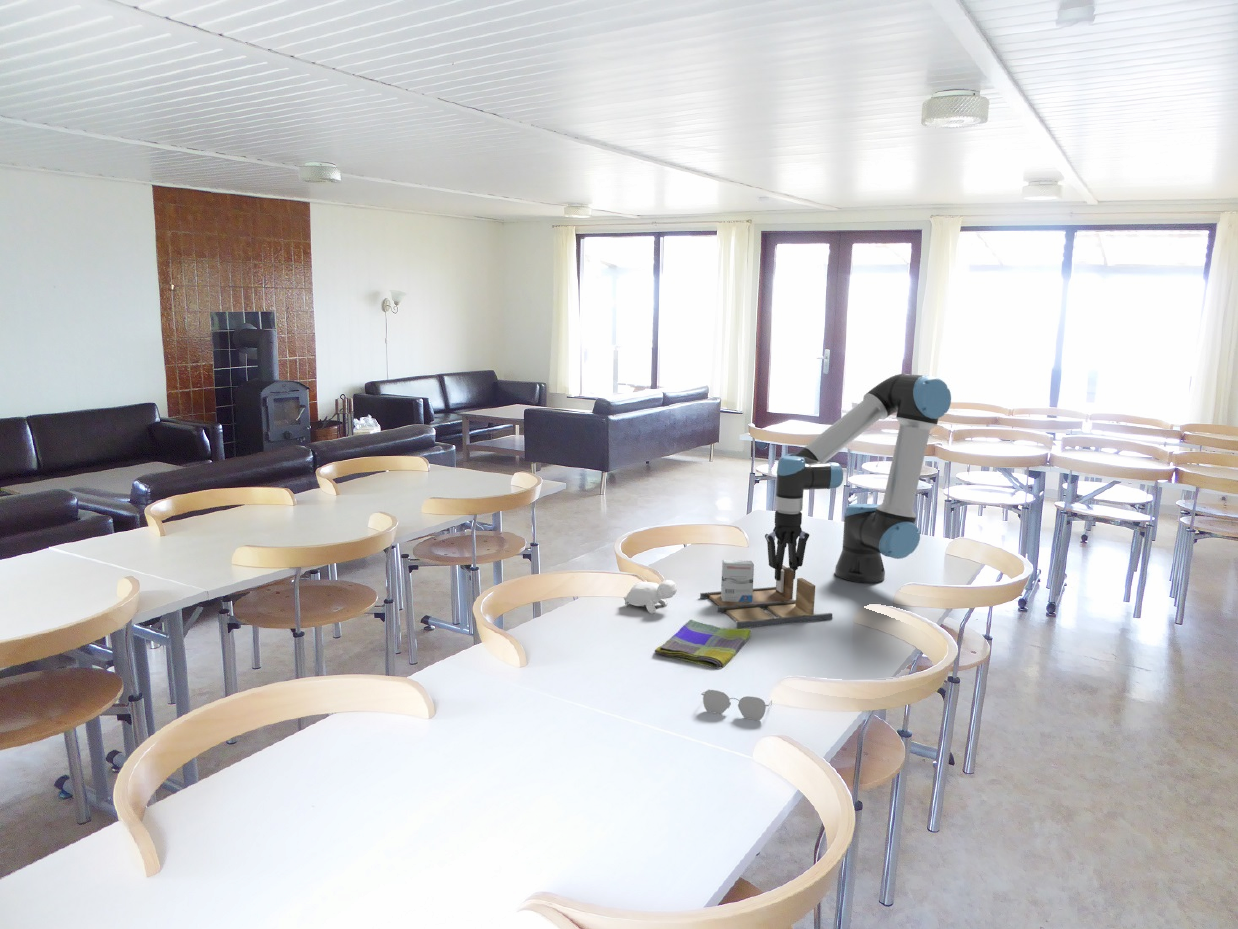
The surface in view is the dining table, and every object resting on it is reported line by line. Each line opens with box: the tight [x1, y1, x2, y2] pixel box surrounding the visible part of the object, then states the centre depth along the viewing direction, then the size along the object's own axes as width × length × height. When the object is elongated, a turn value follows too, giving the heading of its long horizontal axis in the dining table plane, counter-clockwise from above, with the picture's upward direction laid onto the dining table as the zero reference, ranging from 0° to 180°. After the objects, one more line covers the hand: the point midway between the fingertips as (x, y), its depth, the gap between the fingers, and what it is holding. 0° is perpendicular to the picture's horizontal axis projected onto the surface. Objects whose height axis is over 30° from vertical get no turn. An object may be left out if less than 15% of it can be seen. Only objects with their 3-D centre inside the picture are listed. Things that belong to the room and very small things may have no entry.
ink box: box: [720, 559, 755, 602], centre depth 239 cm, size 8×5×12 cm, turn 88°
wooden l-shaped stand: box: [725, 577, 816, 623], centre depth 229 cm, size 22×10×9 cm, turn 108°
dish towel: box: [654, 618, 752, 669], centre depth 207 cm, size 18×24×3 cm
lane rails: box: [699, 586, 833, 629], centre depth 235 cm, size 28×25×2 cm
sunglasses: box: [700, 689, 773, 721], centre depth 175 cm, size 14×8×5 cm, turn 71°
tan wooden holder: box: [708, 565, 795, 607], centre depth 240 cm, size 22×10×9 cm, turn 108°
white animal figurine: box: [623, 579, 678, 614], centre depth 233 cm, size 9×8×15 cm
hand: (784, 590), depth 244 cm, fingers open, 2 cm apart
